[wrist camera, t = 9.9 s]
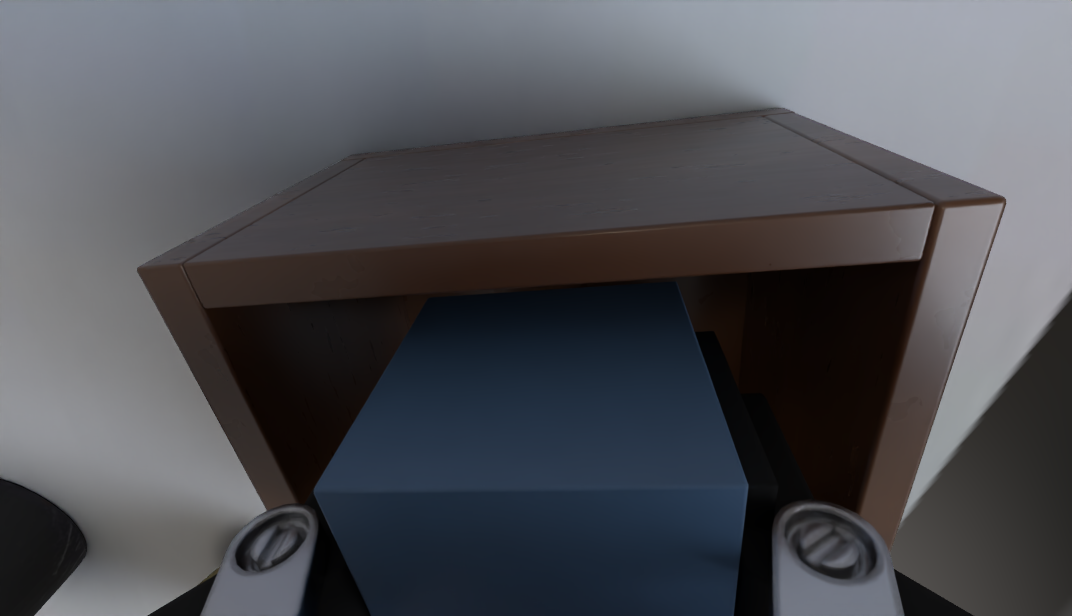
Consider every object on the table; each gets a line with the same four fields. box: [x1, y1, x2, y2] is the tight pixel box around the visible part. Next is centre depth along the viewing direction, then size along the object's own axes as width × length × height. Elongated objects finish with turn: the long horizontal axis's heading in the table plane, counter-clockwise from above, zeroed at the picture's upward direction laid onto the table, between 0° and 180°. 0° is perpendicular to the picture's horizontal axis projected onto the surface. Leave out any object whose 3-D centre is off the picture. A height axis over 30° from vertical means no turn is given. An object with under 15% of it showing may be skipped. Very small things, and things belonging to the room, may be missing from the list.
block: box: [314, 282, 748, 616], centre depth 9 cm, size 5×5×5 cm
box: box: [137, 108, 1006, 553], centre depth 14 cm, size 15×12×8 cm
